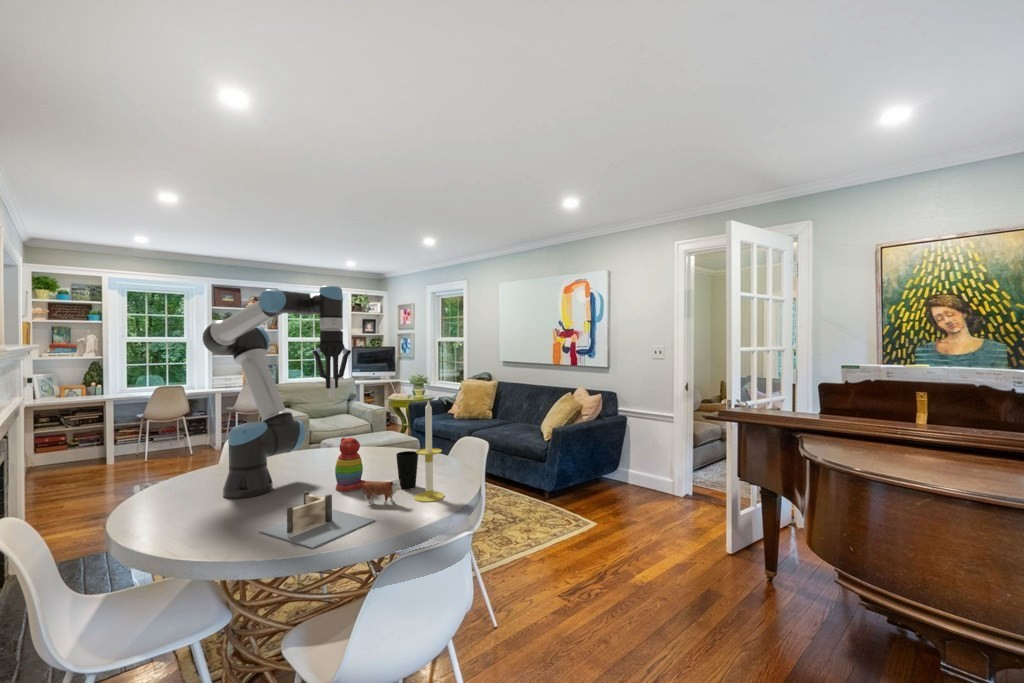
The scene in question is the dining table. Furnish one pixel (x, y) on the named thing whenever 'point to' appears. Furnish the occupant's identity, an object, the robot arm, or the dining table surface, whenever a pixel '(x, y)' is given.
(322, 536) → the card
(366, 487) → the bull figurine
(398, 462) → the cup
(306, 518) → the fence hinged
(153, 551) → the dining table surface
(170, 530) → the dining table surface
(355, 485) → the stacking bear
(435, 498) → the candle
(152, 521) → the dining table surface
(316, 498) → the fence fixed
